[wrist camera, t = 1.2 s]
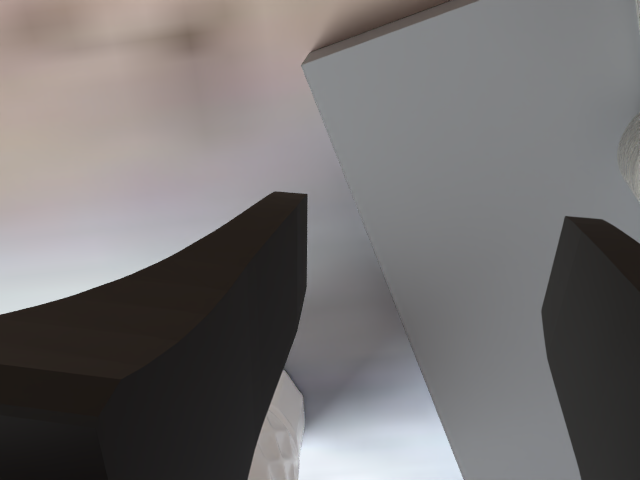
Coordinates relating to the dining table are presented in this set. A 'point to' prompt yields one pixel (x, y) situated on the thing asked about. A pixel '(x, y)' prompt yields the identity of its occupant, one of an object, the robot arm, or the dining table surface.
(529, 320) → the dial board
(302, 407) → the white cup
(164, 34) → the dining table surface
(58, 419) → the robot arm
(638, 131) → the peg lever
